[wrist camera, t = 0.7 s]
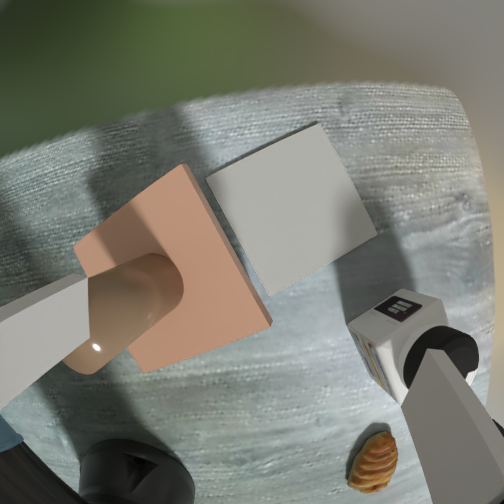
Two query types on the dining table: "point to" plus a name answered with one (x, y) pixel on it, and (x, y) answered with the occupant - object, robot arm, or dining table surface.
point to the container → (409, 340)
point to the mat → (292, 208)
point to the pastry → (374, 464)
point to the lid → (163, 281)
